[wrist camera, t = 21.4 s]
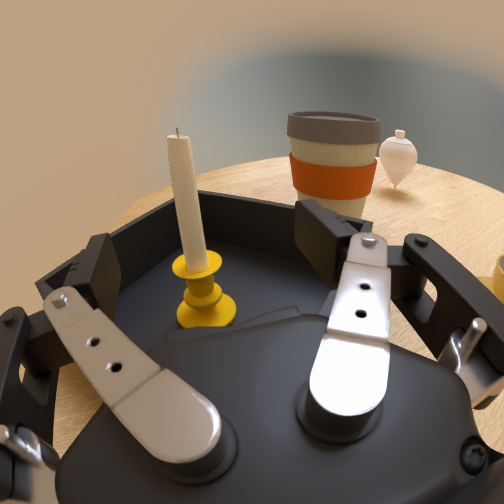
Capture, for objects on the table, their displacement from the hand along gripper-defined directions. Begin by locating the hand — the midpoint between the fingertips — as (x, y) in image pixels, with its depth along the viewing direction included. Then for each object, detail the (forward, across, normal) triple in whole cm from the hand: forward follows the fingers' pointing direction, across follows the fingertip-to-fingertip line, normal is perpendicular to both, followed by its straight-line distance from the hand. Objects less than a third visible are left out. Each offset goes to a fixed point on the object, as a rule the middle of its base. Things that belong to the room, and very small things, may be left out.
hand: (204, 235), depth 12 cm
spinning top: (+31, -38, +13) cm, 51 cm away
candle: (+8, 0, +12) cm, 15 cm away
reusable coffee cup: (+24, -19, +13) cm, 33 cm away
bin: (+9, 0, +13) cm, 16 cm away
